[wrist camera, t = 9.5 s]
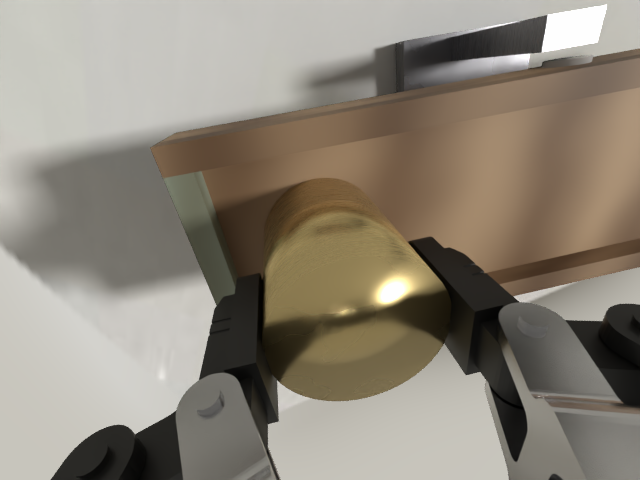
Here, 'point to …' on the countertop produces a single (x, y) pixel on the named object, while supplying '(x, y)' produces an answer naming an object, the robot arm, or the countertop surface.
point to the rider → (345, 296)
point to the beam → (439, 172)
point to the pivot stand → (491, 48)
